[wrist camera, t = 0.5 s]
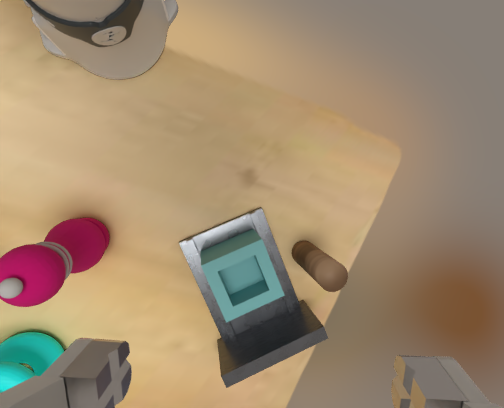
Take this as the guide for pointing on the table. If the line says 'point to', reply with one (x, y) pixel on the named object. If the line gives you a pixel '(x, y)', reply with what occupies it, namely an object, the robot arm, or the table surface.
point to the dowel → (320, 266)
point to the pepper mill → (51, 261)
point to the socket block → (240, 274)
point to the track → (258, 320)
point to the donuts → (26, 357)
